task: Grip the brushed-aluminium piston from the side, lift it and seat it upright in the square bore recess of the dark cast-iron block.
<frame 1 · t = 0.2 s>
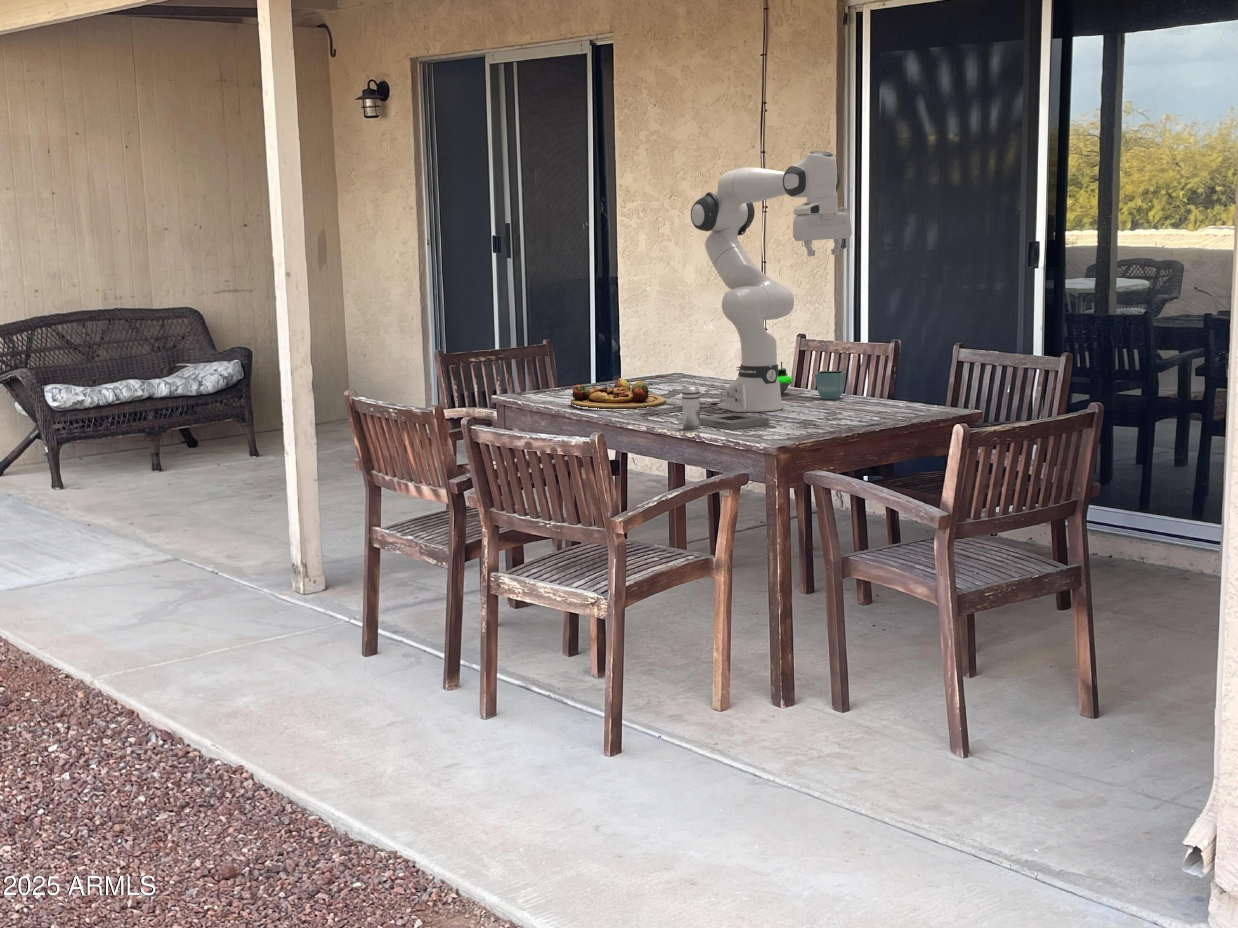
hand: (823, 255, 404), 48 cm above the table, tool pointing down, fingers open, 8 cm apart
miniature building: (774, 395, 474), on the table
bore block: (732, 424, 406), on the table
flower pot: (830, 399, 457), on the table
wooden plate with food: (618, 406, 461), on the table
piston: (691, 428, 402), on the table
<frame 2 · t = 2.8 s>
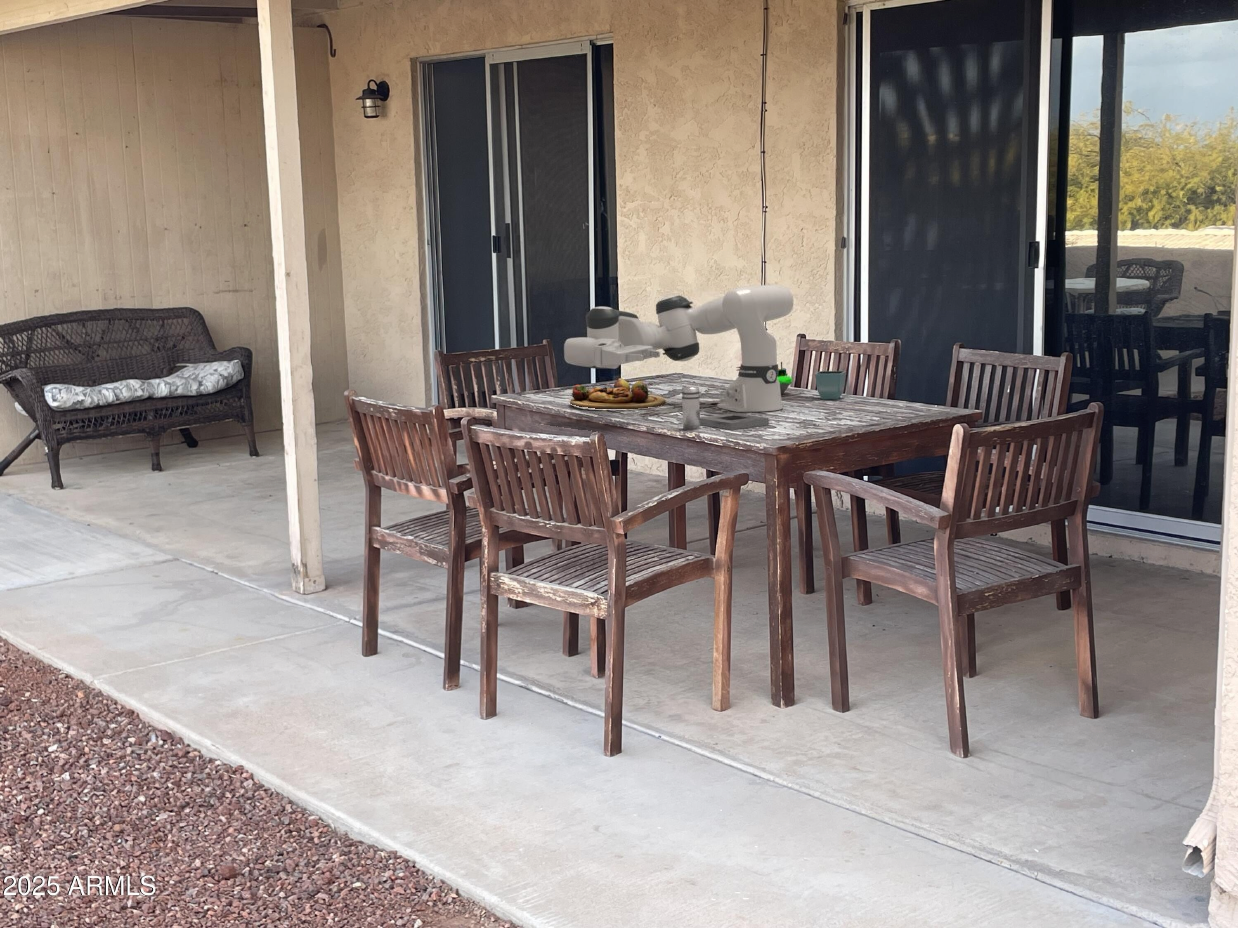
hand: (651, 356, 405), 21 cm above the table, tool horizontal, fingers open, 8 cm apart
nothing on the table moved.
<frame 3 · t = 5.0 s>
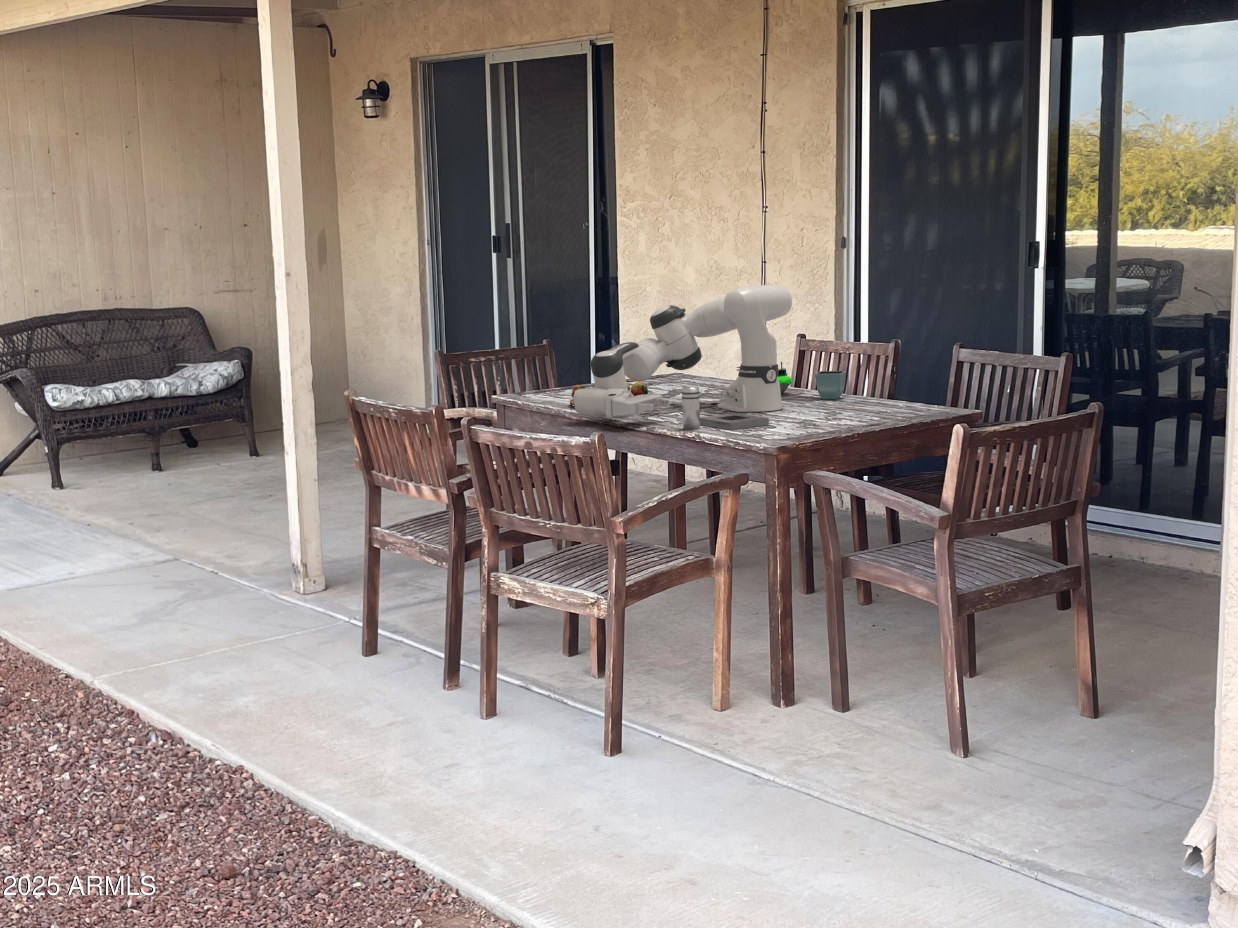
hand: (661, 405, 405), 6 cm above the table, tool horizontal, fingers open, 8 cm apart
nothing on the table moved.
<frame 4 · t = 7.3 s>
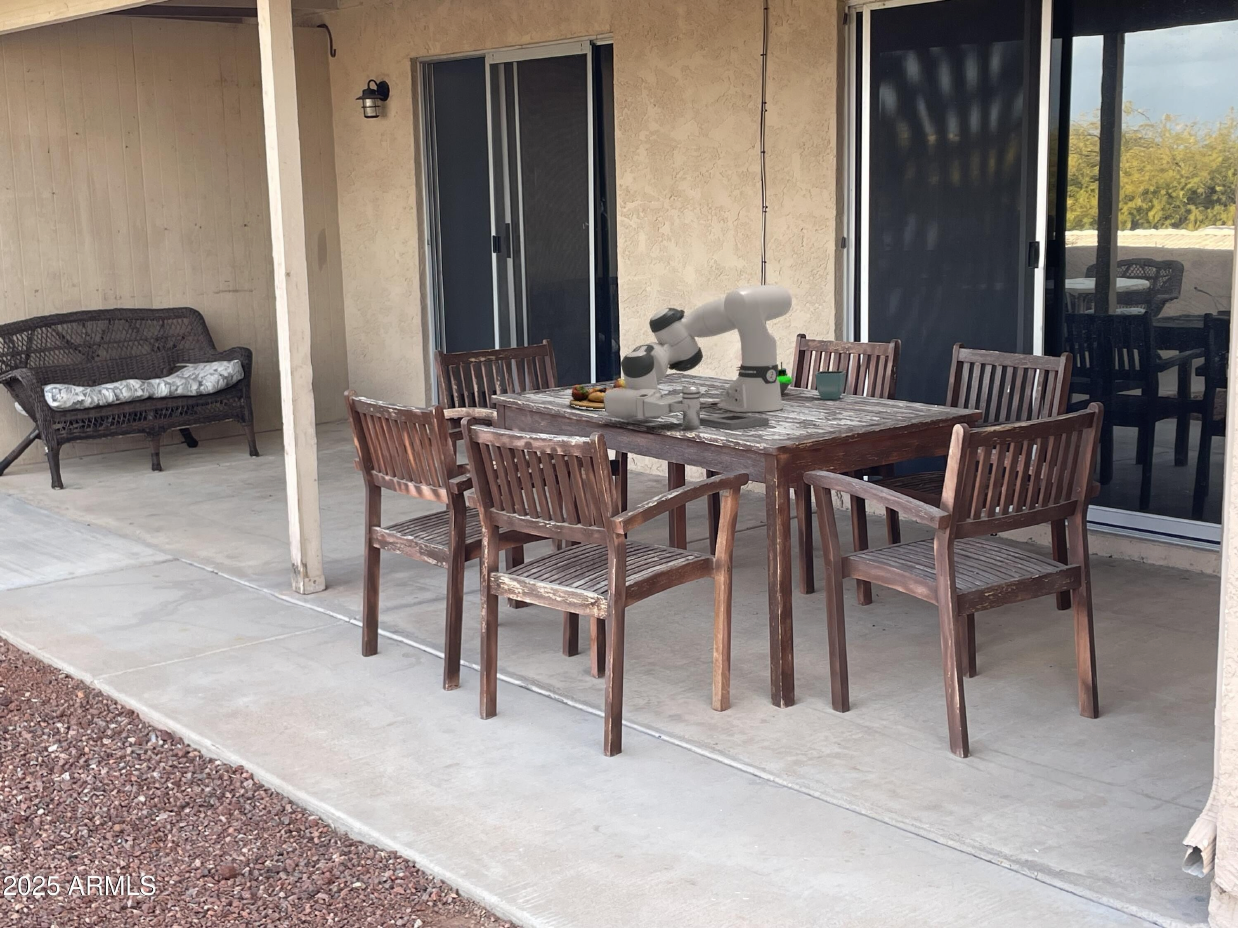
hand: (693, 406, 400), 7 cm above the table, tool horizontal, fingers closed on piston, 5 cm apart
piston: (691, 428, 402), on the table, touching gripper
everything else where it was.
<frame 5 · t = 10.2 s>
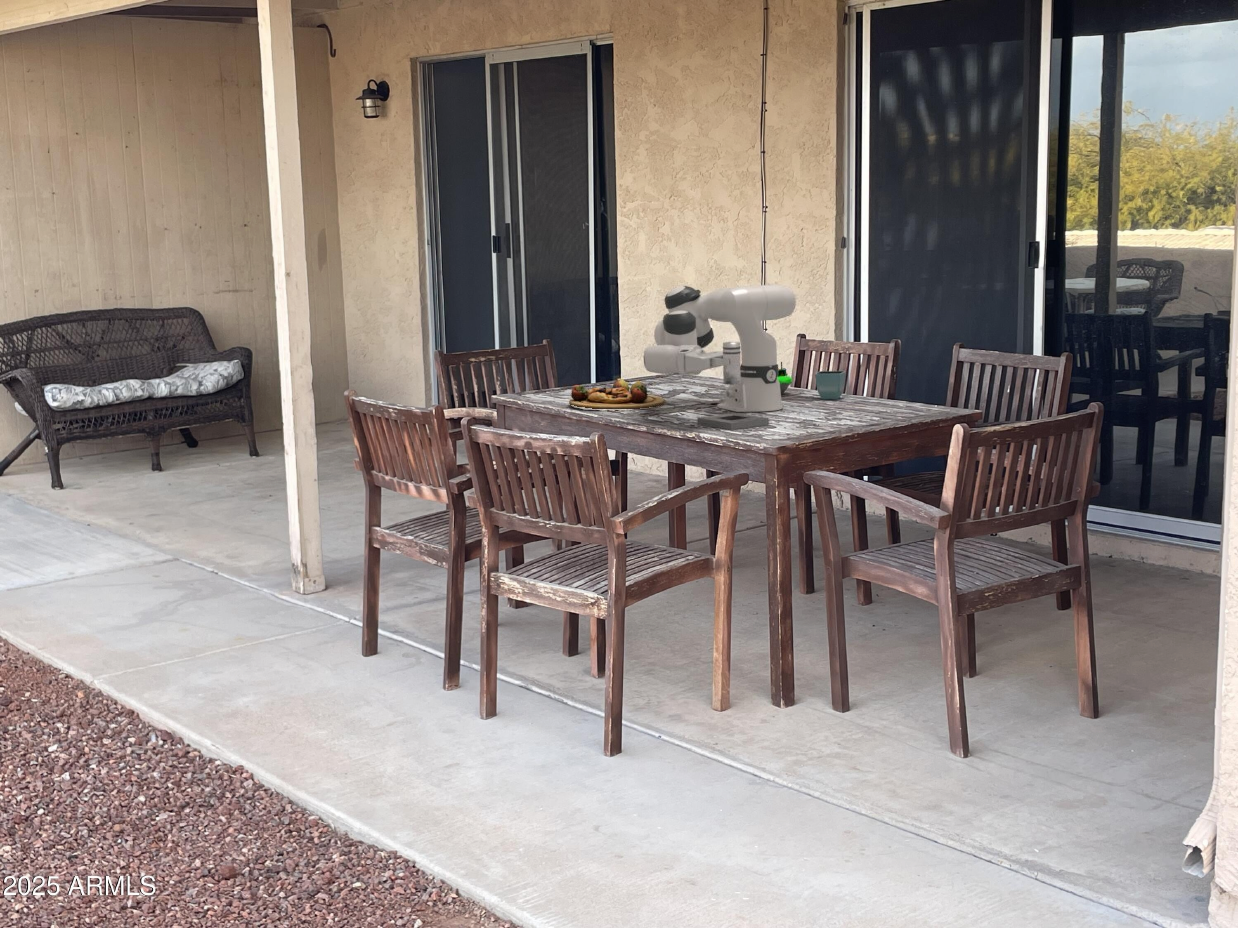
hand: (734, 361, 403), 19 cm above the table, tool horizontal, fingers closed on piston, 5 cm apart
piston: (732, 383, 404), point 12 cm above the table, touching gripper
everything else where it was.
when the fingers open (8 cm above the table, at t = 13.1 s): piston drops 1 cm, resting in bore block.
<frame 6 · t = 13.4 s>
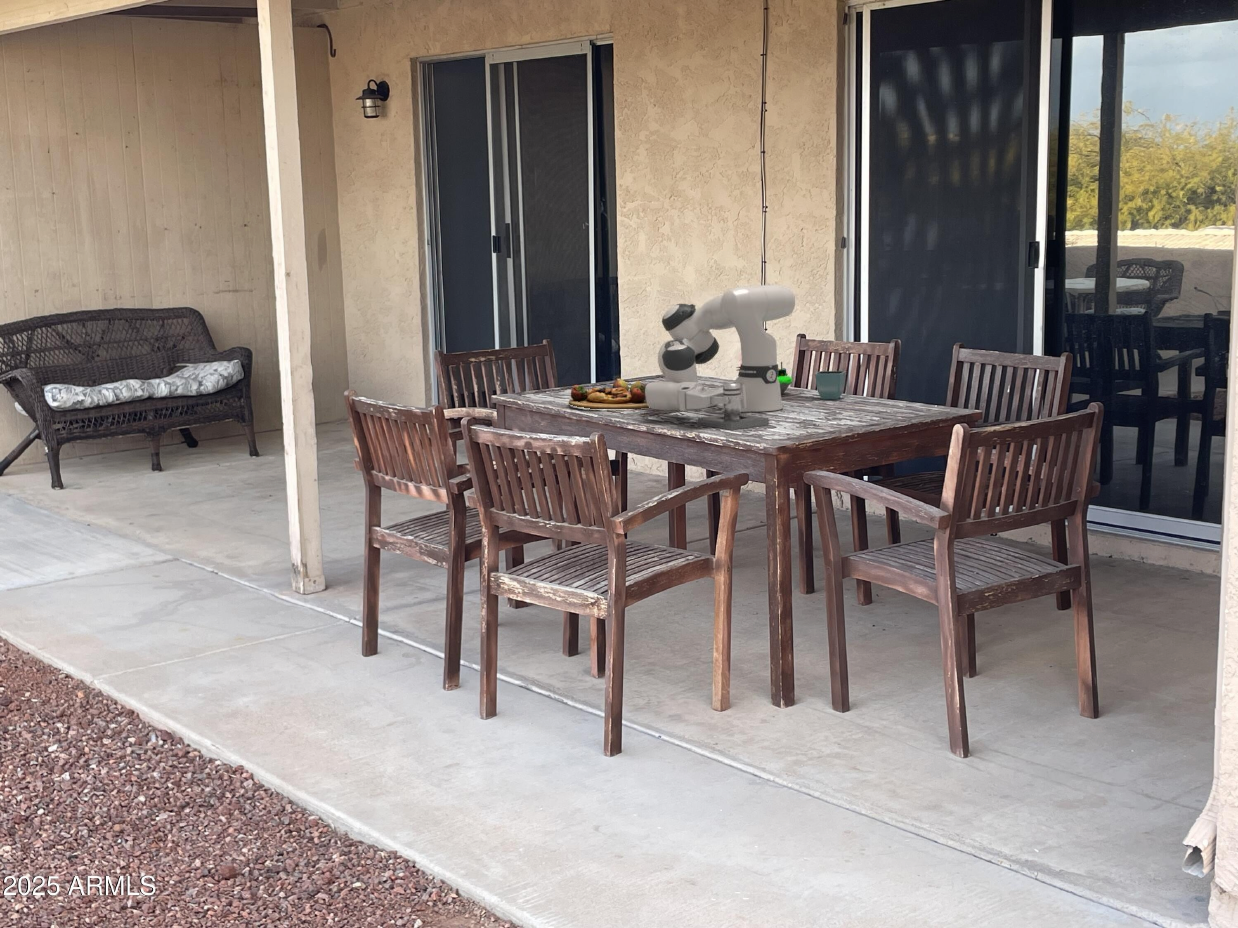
hand: (735, 398, 405), 8 cm above the table, tool horizontal, fingers open, 7 cm apart
piston: (732, 424, 406), resting in bore block
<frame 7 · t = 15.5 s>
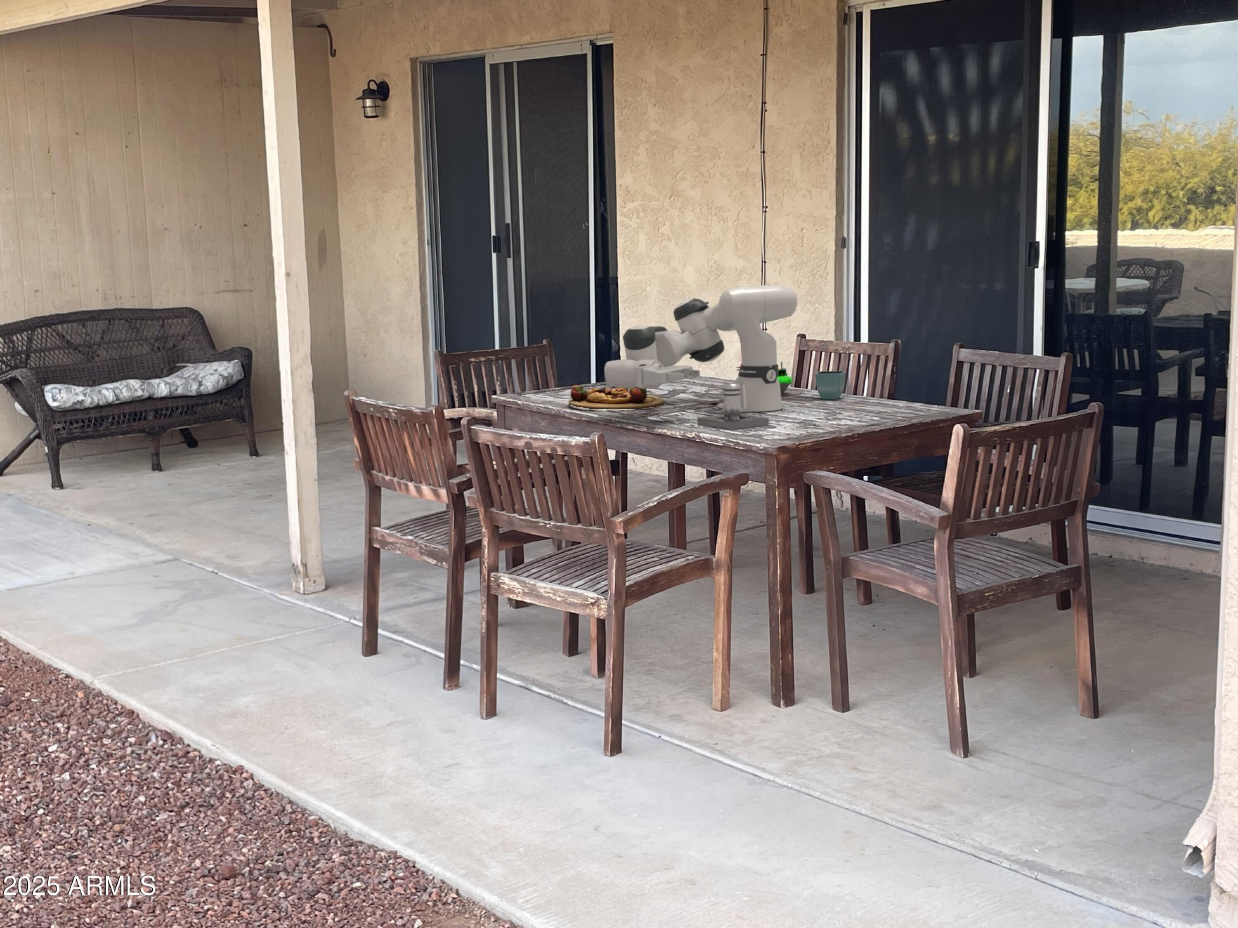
hand: (691, 374, 409), 15 cm above the table, tool horizontal, fingers open, 8 cm apart
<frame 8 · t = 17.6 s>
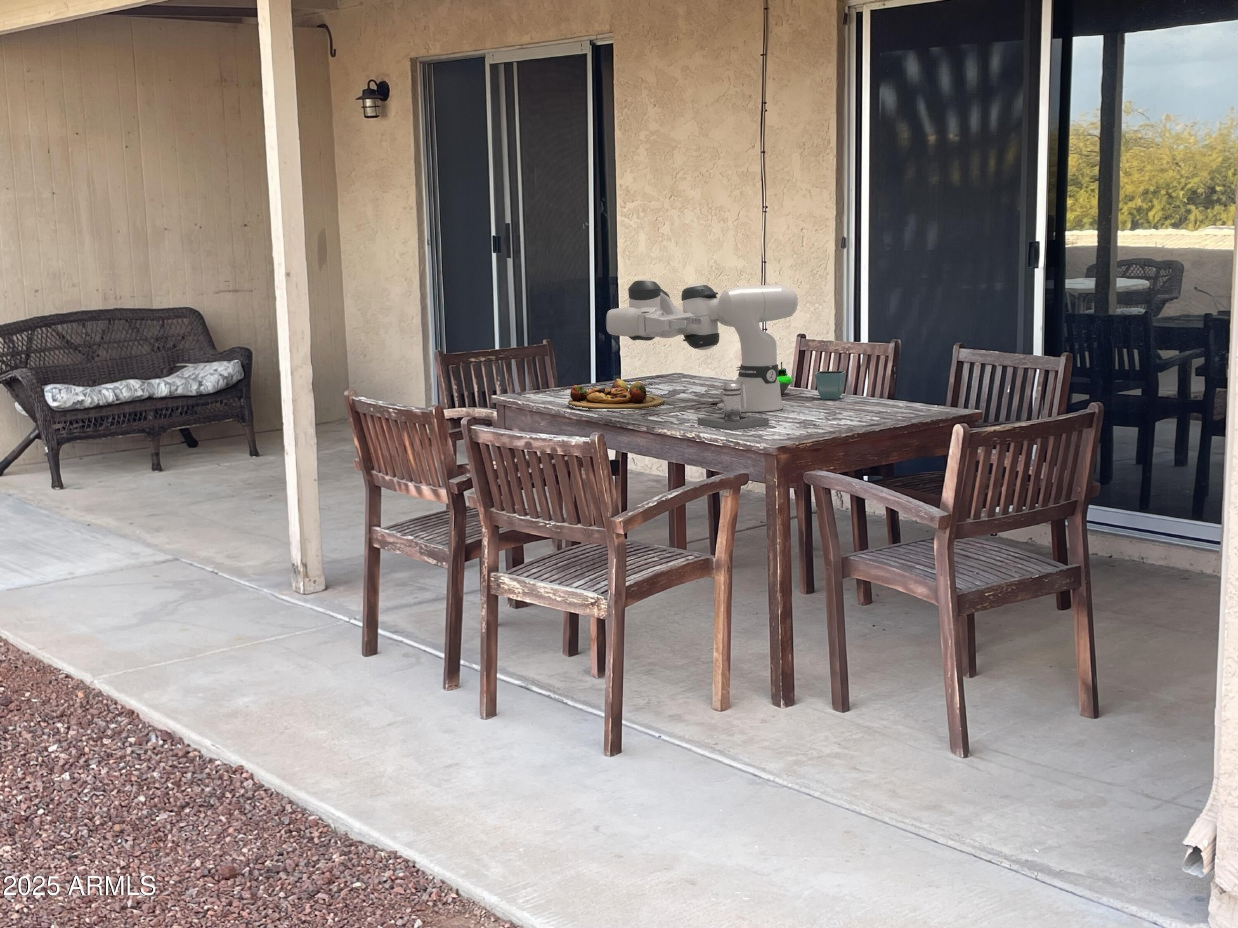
hand: (694, 322, 407), 30 cm above the table, tool horizontal, fingers open, 8 cm apart
at the end: piston 0.1 cm off-centre on the bore block, point 0.0 cm above the bore block's base; piston tilted 0°; the gripper is holding nothing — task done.
